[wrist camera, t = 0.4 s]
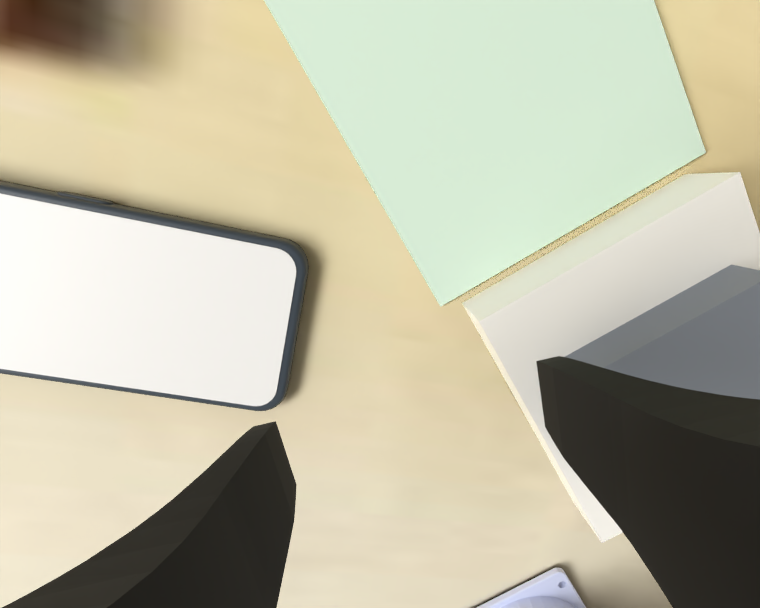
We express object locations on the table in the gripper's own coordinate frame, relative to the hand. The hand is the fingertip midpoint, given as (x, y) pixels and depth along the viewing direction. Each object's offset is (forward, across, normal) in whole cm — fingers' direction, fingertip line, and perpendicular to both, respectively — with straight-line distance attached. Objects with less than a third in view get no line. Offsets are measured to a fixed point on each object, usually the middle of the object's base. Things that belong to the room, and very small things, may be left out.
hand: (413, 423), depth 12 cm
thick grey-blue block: (+7, -12, +4) cm, 14 cm away
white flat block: (+10, -12, +5) cm, 16 cm away
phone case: (+11, +12, -4) cm, 16 cm away
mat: (+10, -7, -10) cm, 16 cm away
